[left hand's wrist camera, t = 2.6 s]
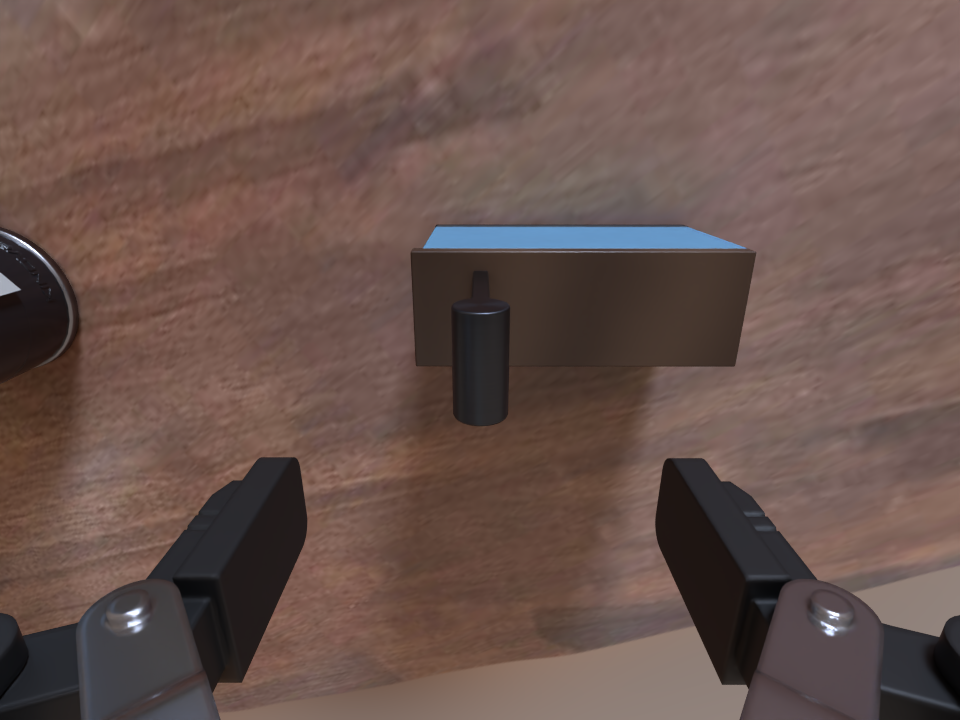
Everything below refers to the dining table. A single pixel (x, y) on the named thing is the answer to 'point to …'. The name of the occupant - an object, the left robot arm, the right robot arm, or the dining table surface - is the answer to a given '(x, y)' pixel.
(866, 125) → the dining table surface
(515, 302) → the lid
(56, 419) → the dining table surface
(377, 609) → the dining table surface
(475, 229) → the chest
